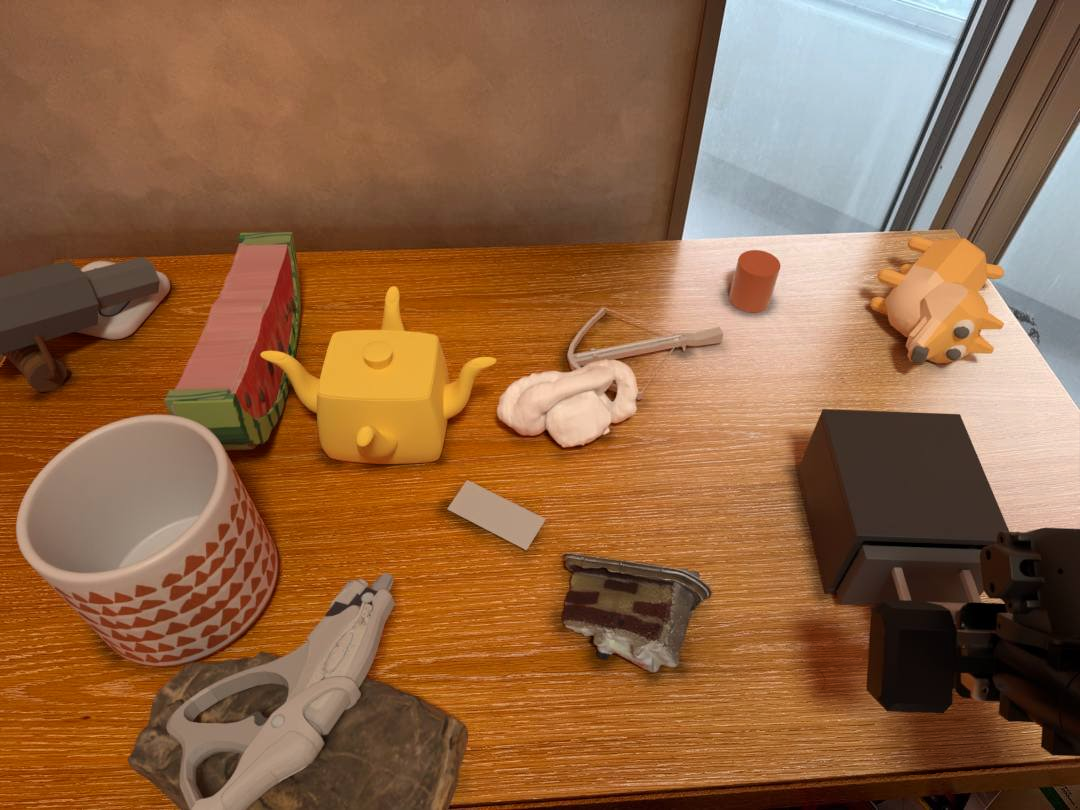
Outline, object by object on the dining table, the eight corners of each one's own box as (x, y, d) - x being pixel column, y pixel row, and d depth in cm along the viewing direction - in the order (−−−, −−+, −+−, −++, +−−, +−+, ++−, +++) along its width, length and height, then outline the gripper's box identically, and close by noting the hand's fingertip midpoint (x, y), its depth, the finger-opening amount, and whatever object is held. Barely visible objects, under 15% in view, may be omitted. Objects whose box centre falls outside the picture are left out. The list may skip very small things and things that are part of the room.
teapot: (499, 427, 77) (498, 352, 70) (377, 515, 70) (362, 441, 63) (399, 348, 84) (389, 272, 77) (279, 421, 77) (255, 345, 70)
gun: (323, 562, 63) (432, 604, 59) (131, 791, 51) (252, 865, 47) (311, 536, 61) (423, 578, 57) (109, 768, 49) (233, 843, 45)
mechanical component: (119, 227, 85) (126, 309, 91) (-75, 271, 73) (-52, 362, 79) (176, 273, 81) (180, 355, 87) (-19, 327, 69) (1, 418, 75)
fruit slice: (265, 492, 69) (238, 400, 63) (188, 494, 69) (153, 402, 62) (313, 314, 89) (296, 230, 83) (254, 315, 89) (233, 231, 82)
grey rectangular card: (447, 509, 71) (449, 512, 71) (526, 550, 68) (527, 553, 69) (467, 479, 72) (468, 483, 73) (545, 519, 69) (547, 522, 70)
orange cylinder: (777, 300, 91) (789, 264, 87) (752, 318, 89) (763, 281, 85) (745, 281, 93) (755, 244, 89) (720, 297, 91) (729, 261, 87)
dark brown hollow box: (966, 599, 67) (1014, 541, 60) (824, 594, 67) (857, 535, 60) (922, 475, 75) (960, 413, 69) (796, 471, 75) (822, 408, 69)
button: (174, 272, 89) (120, 333, 82) (179, 284, 90) (126, 345, 83) (90, 255, 90) (30, 314, 83) (96, 267, 91) (37, 326, 85)
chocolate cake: (525, 636, 64) (635, 649, 54) (553, 550, 67) (662, 548, 57) (611, 677, 68) (726, 696, 59) (634, 595, 71) (747, 601, 62)
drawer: (987, 659, 62) (1028, 615, 57) (851, 654, 62) (880, 610, 57) (927, 491, 73) (958, 442, 68) (810, 487, 73) (832, 437, 68)
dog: (846, 294, 81) (983, 344, 74) (929, 207, 91) (1055, 244, 85) (831, 356, 86) (957, 408, 80) (911, 267, 97) (1028, 306, 90)
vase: (193, 489, 71) (130, 388, 62) (315, 554, 66) (268, 455, 57) (62, 618, 64) (-32, 525, 54) (190, 703, 59) (111, 616, 49)
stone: (251, 612, 64) (235, 579, 60) (491, 751, 57) (489, 723, 54) (117, 768, 56) (89, 741, 52) (377, 949, 50) (366, 933, 46)
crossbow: (585, 415, 79) (585, 401, 78) (553, 328, 88) (553, 313, 86) (743, 383, 81) (746, 368, 80) (697, 300, 90) (699, 285, 88)
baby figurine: (479, 384, 75) (513, 468, 73) (593, 319, 72) (632, 405, 69) (521, 399, 83) (552, 476, 80) (625, 341, 79) (662, 419, 77)
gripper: (1311, 562, 42) (1102, 507, 58) (942, 548, 42) (833, 497, 58) (1292, 777, 43) (1090, 665, 58) (928, 763, 43) (824, 655, 58)
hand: (960, 617), depth 58 cm, fingers closed, pressing on drawer
